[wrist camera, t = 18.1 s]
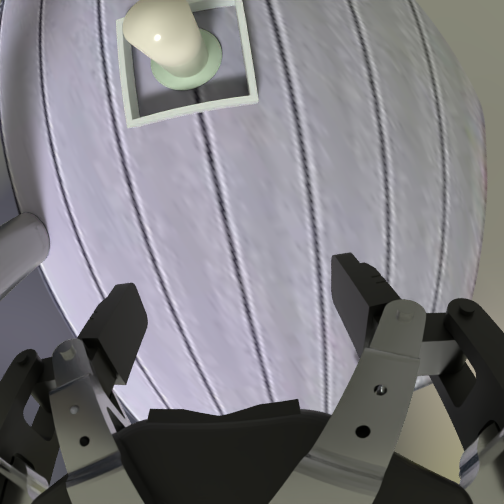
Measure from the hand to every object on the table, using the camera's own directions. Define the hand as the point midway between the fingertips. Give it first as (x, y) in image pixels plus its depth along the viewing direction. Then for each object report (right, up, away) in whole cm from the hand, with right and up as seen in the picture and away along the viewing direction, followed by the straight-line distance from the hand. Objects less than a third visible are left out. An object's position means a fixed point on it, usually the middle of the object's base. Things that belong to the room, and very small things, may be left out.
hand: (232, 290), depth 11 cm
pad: (-7, +26, +17) cm, 31 cm away
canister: (-7, +25, +16) cm, 31 cm away
